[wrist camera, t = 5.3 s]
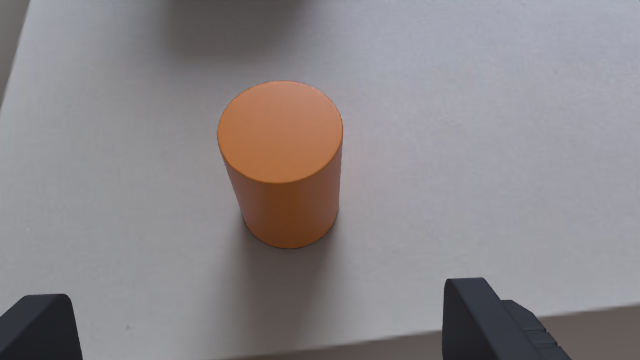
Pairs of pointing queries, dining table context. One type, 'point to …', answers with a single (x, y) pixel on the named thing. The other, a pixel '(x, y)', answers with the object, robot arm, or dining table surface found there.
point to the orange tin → (284, 161)
